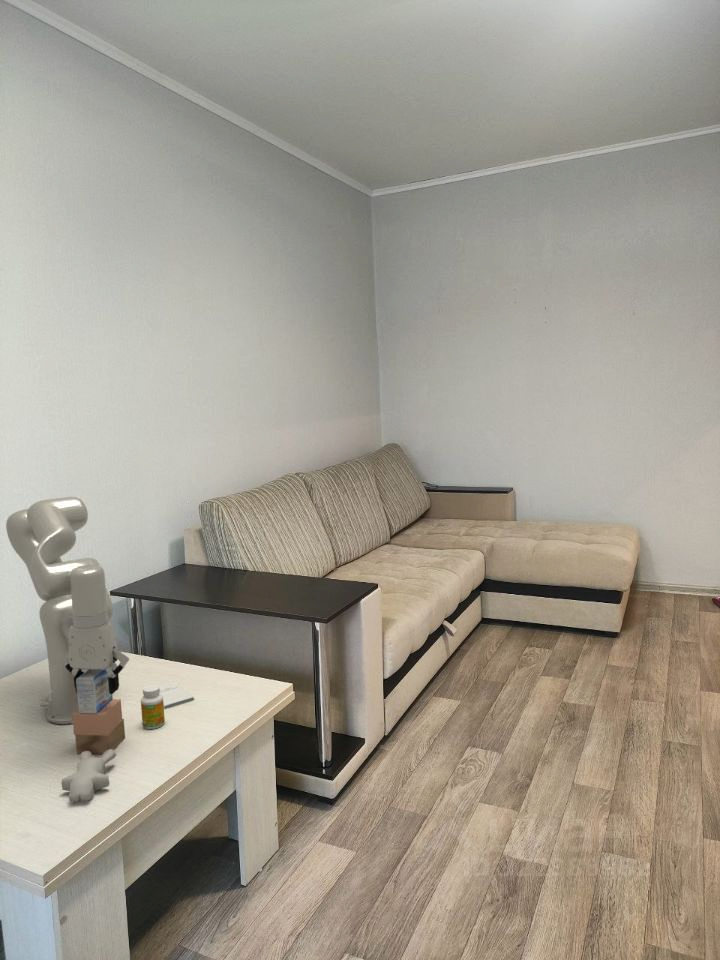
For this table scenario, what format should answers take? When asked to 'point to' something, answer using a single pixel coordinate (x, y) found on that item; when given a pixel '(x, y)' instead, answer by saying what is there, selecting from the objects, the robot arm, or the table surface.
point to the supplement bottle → (152, 707)
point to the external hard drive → (174, 695)
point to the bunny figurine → (88, 776)
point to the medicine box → (93, 691)
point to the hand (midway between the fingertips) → (97, 690)
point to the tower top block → (98, 720)
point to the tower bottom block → (101, 741)
